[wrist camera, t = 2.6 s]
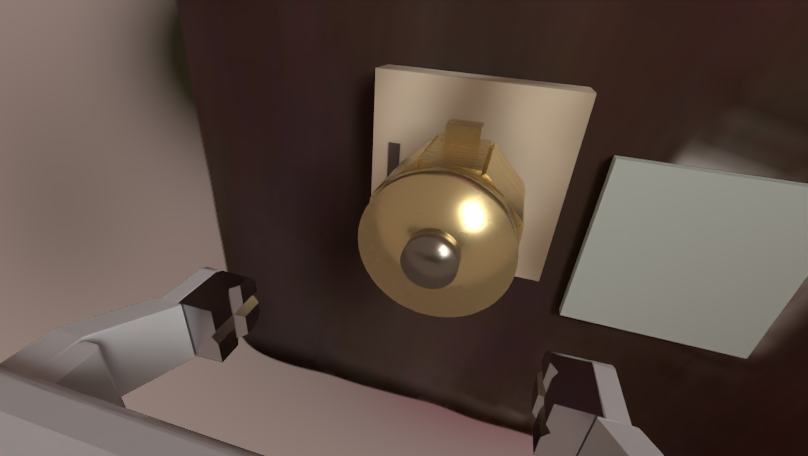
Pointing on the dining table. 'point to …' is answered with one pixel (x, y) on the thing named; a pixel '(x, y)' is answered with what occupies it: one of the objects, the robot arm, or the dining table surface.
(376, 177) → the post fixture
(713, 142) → the dining table surface
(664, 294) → the coaster
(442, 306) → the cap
